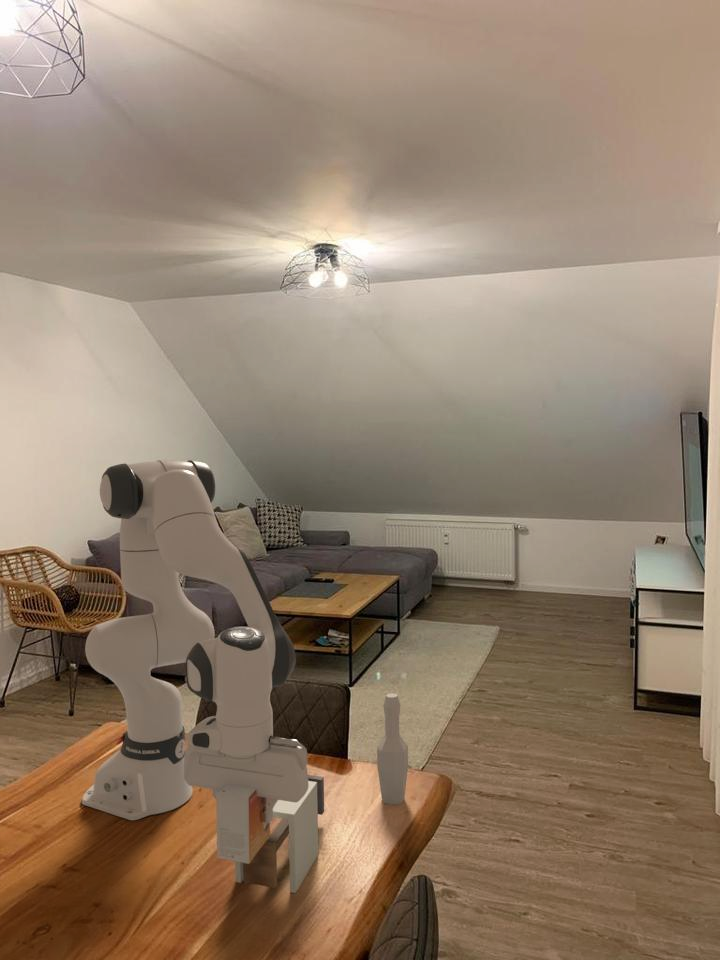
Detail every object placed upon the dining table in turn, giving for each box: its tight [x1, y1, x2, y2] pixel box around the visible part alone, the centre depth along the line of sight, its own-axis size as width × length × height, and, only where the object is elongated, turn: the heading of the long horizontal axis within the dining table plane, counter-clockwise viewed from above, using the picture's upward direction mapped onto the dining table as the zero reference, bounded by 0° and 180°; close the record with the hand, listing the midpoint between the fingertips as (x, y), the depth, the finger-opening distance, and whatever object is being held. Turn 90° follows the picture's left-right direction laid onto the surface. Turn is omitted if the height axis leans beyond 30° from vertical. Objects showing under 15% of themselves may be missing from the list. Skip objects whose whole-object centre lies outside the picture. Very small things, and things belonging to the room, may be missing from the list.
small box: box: [215, 785, 271, 864], centre depth 110 cm, size 8×6×10 cm
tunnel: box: [234, 781, 319, 894], centre depth 122 cm, size 11×11×14 cm
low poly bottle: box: [376, 693, 409, 806], centre depth 144 cm, size 6×6×22 cm
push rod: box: [242, 774, 325, 889], centre depth 126 cm, size 6×24×7 cm, turn 164°
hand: (246, 817), depth 111 cm, fingers closed on small box, 6 cm apart
